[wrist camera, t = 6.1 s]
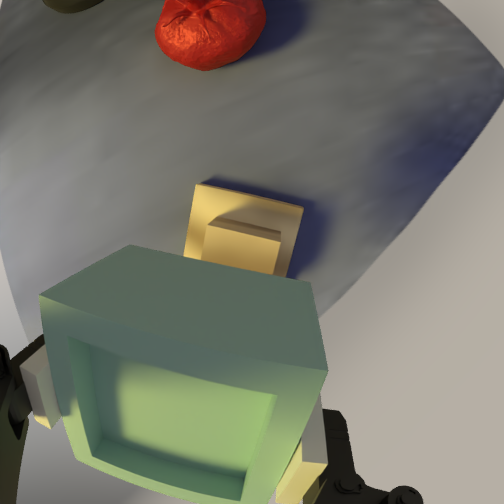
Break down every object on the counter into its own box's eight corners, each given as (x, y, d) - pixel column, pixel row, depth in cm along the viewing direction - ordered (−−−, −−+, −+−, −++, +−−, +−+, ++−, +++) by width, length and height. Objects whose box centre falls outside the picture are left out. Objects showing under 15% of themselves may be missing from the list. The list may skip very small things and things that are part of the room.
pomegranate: (286, 39, 25) (290, -5, 16) (203, 96, 27) (175, 71, 18) (226, -19, 23) (211, -68, 14) (150, 34, 25) (110, 0, 16)
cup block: (130, 244, 13) (38, 294, 7) (310, 282, 13) (328, 370, 7) (128, 382, 15) (76, 459, 9) (270, 418, 15) (261, 514, 9)
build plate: (200, 183, 29) (183, 187, 24) (302, 206, 29) (307, 216, 24) (183, 278, 32) (166, 299, 27) (277, 301, 32) (276, 327, 27)
